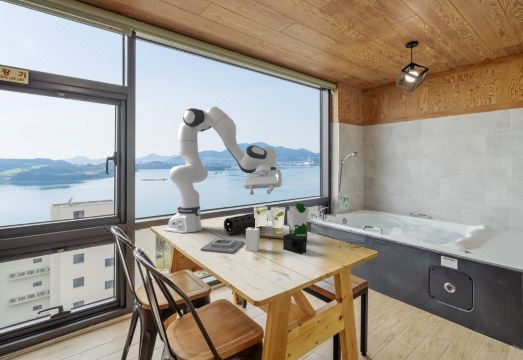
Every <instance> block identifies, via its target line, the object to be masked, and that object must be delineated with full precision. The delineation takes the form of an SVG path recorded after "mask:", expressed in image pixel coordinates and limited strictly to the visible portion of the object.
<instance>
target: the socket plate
mask: <svg viewBox="0 0 523 360" xmlns="http://www.w3.org/2000/svg"><path fill="white" fill-rule="evenodd" d="M244 244H245V241H243V240H242V241H241V240H235V239H225V238H214V239H212V240H211V241H210V242H208V243H207V244H205V245H204V246H202V247H201V248H200V251H201V252H202V251H203V252H211V253H222V254H231V255H232V254H235V252H236V251H237V250H239V248H241V247H242V246H243V245H244Z"/></svg>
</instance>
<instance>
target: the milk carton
mask: <svg viewBox="0 0 523 360" xmlns="http://www.w3.org/2000/svg"><path fill="white" fill-rule="evenodd" d="M288 207H289V208H288V209H289V212H288V213H289V226H288V227H289V230H288V231H289V233H288V234H292V235H297V236H301V237H305V238H306V239H307V240H306V244H307V243H308V219H309V218H308V215H309V208H308V207H306V206H305V203H301V202H300V203H296V206H295V205H294V206H288Z"/></svg>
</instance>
